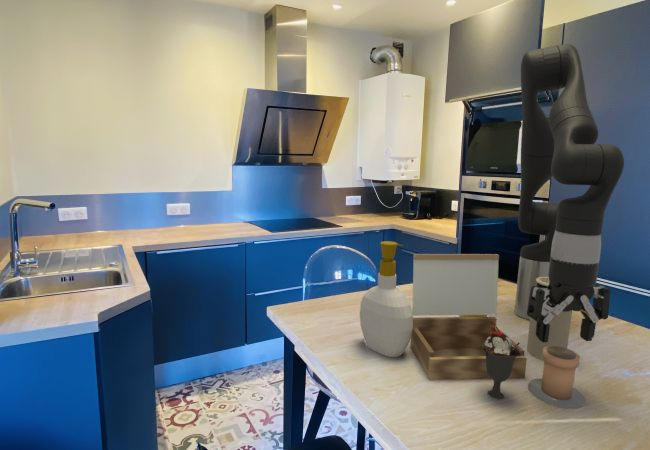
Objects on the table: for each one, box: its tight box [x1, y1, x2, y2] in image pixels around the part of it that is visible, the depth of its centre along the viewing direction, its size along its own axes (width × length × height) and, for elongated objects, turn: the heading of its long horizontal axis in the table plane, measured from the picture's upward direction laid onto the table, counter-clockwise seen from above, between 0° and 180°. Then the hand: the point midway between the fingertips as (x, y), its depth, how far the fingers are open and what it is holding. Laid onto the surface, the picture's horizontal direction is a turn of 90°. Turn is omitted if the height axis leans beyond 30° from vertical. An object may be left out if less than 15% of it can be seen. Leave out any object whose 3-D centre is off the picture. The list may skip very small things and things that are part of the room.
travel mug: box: [526, 277, 573, 361], centre depth 91 cm, size 8×8×18 cm
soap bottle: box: [359, 240, 414, 358], centre depth 92 cm, size 14×9×26 cm, turn 41°
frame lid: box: [411, 253, 500, 317], centre depth 93 cm, size 20×14×1 cm
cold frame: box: [409, 316, 528, 381], centre depth 88 cm, size 20×14×8 cm
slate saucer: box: [527, 377, 586, 410], centre depth 77 cm, size 10×10×1 cm
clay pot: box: [541, 346, 581, 400], centre depth 76 cm, size 6×6×8 cm
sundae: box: [482, 321, 521, 400], centre depth 75 cm, size 7×7×15 cm
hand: (563, 340), depth 75 cm, fingers open, 8 cm apart
